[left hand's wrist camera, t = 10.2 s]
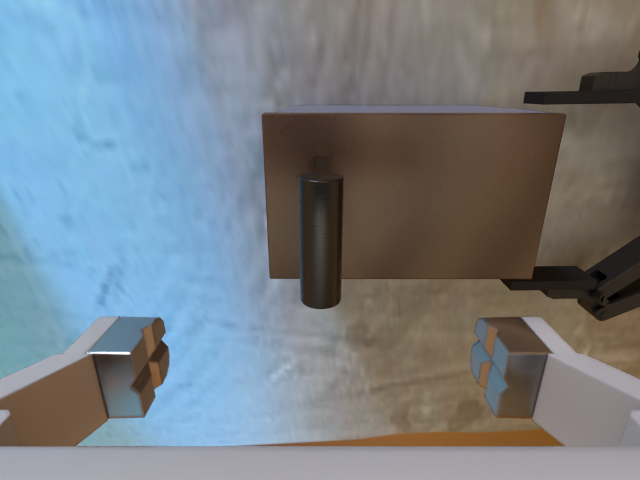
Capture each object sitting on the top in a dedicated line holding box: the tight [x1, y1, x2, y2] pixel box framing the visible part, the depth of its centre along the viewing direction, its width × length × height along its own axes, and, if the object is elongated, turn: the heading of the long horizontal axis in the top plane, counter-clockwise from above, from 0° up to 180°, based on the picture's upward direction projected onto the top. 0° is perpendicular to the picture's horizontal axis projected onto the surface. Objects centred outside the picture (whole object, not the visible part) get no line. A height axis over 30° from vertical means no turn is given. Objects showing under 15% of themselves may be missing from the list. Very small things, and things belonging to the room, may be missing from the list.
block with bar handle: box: [262, 113, 566, 309], centre depth 20 cm, size 16×10×8 cm, turn 90°
